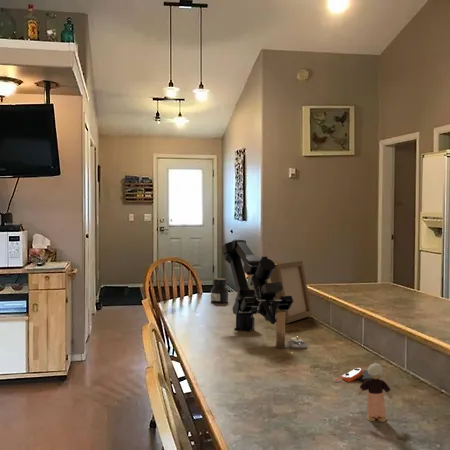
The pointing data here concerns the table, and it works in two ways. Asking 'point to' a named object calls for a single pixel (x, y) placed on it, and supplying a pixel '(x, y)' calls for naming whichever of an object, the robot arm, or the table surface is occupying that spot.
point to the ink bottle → (219, 291)
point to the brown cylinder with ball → (281, 334)
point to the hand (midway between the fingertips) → (273, 323)
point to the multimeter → (356, 375)
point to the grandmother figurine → (375, 393)
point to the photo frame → (293, 289)
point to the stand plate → (296, 340)
